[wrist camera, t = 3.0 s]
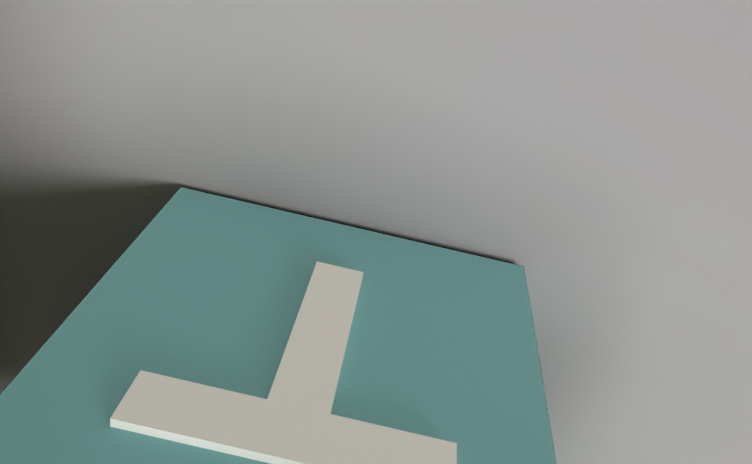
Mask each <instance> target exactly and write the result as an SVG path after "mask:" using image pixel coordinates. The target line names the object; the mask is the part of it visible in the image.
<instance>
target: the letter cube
mask: <svg viewBox="0 0 752 464" xmlns="http://www.w3.org/2000/svg"><path fill="white" fill-rule="evenodd" d="M0 464H556V458H555V452H554V446H553V440H552V434H551V427H550V421H549V415H548V409H547V403H546V397H545V391H544V385H543V379H542V373H541V367H540V361H539V355H538V349H537V342H536V336H535V330H534V324H533V318H532V312H531V306H530V300H529V294H528V288H527V282H526V276H525V270H524V267H523V266H519V265H515V264H511V263H506V262H502V261H498V260H493V259H489V258H485V257H480V256H476V255H472V254H467V253H463V252H459V251H454V250H450V249H446V248H442V247H437V246H433V245H429V244H424V243H420V242H416V241H411V240H407V239H403V238H398V237H394V236H390V235H385V234H381V233H377V232H373V231H368V230H364V229H360V228H355V227H351V226H347V225H342V224H338V223H334V222H329V221H325V220H321V219H316V218H312V217H308V216H304V215H299V214H295V213H291V212H286V211H282V210H278V209H273V208H269V207H265V206H260V205H256V204H252V203H247V202H243V201H239V200H235V199H230V198H226V197H222V196H217V195H213V194H209V193H204V192H200V191H196V190H191V189H187V188H183V187H181V188H180V189H179V190H178V191H177V192H176V193H175V195H174V196H173V197H172V198H171V199H170V200H169V201H168V203H167V204H166V205H165V206H164V207H163V208H162V209H161V211H160V212H159V213H158V214H157V215H156V216H155V217H154V219H153V220H152V221H151V222H150V223H149V224H148V226H147V227H146V228H145V229H144V230H143V231H142V232H141V234H140V235H139V236H138V237H137V238H136V239H135V240H134V242H133V243H132V244H131V245H130V246H129V247H128V248H127V250H126V251H125V252H124V253H123V254H122V255H121V257H120V258H119V259H118V260H117V261H116V262H115V263H114V265H113V266H112V267H111V268H110V269H109V270H108V271H107V273H106V274H105V275H104V276H103V277H102V278H101V280H100V281H99V282H98V283H97V284H96V285H95V286H94V288H93V289H92V290H91V291H90V292H89V293H88V294H87V296H86V297H85V298H84V299H83V300H82V301H81V302H80V304H79V305H78V306H77V307H76V308H75V309H74V311H73V312H72V313H71V314H70V315H69V316H68V317H67V319H66V320H65V321H64V322H63V323H62V324H61V325H60V327H59V328H58V329H57V330H56V331H55V332H54V333H53V335H52V336H51V337H50V338H49V339H48V340H47V342H46V343H45V344H44V345H43V346H42V347H41V348H40V350H39V351H38V352H37V353H36V354H35V355H34V356H33V358H32V359H31V360H30V361H29V362H28V363H27V364H26V366H25V367H24V368H23V369H22V370H21V371H20V373H19V374H18V375H17V376H16V377H15V378H14V379H13V381H12V382H11V383H10V384H9V385H8V386H7V387H6V389H5V390H4V391H3V392H2V393H1V394H0Z"/></svg>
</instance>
